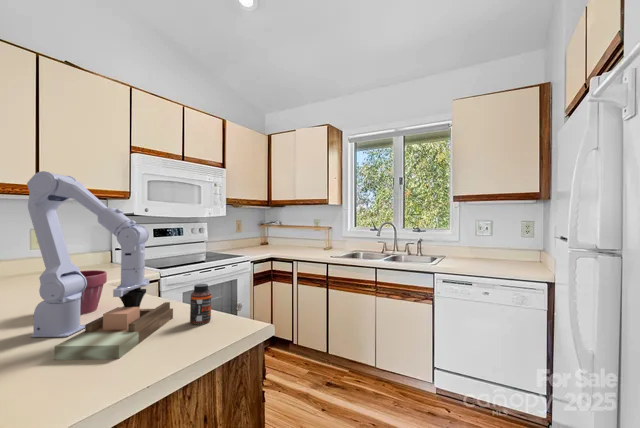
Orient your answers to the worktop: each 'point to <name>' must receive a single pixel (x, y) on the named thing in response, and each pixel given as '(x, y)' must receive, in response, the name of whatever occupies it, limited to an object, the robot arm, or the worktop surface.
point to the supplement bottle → (200, 304)
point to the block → (120, 317)
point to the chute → (113, 336)
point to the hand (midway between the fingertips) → (132, 316)
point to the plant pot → (92, 290)
